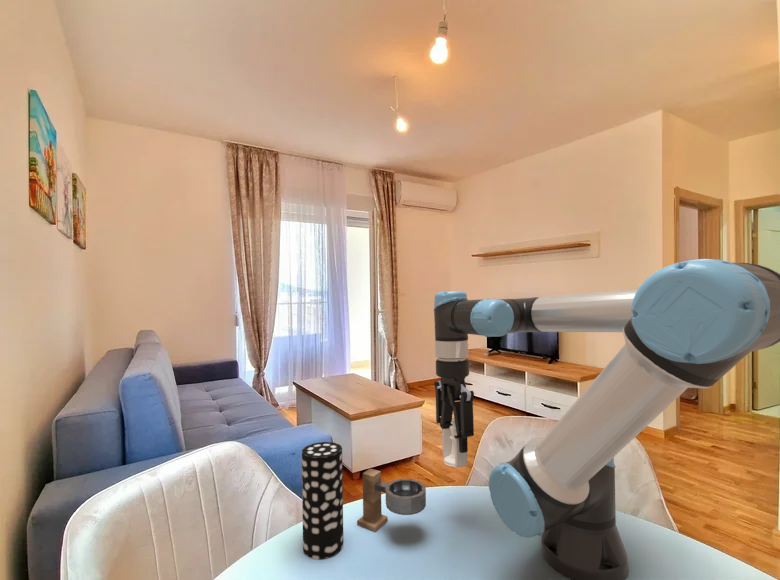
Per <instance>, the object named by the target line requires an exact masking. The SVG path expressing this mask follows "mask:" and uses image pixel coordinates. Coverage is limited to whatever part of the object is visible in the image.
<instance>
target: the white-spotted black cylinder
mask: <svg viewBox="0 0 780 580" xmlns="http://www.w3.org/2000/svg"><path fill="white" fill-rule="evenodd" d="M301 481H302V482H301V483H302V484H301V485H302V486H301V491H302V492H301V493H302V494H301V495H302V496H301V498H302V500H301V501H302V505H301V506H302V551H303V553H304V554H305V556H306V557H307V558H310V559H313V560H325V559H329V558H332V557H335V556H336V555H338V554H339V553H340V552H341V551H342V549H344V506H343V505H344V491H343V490H344V489H343V485H344V484H343V447H342V445H341V444H339V443H337V442H330V441H323V442H322V441H319V442H315V443H311V444H308V445H306V446H305V447H303V448H302V450H301Z"/></svg>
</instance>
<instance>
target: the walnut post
mask: <svg viewBox="0 0 780 580" xmlns="http://www.w3.org/2000/svg"><path fill="white" fill-rule="evenodd" d="M378 481H382V472H381V471H380V470H377V469H374V468H369V469H367V470H365V471H364V472H362V516H361V517H359V519H357V520H356V526H357V527H361V528H363V529H366V530H369V531H371V532H374V533H376V532H377V531H378V530H379V529H380V528H382V527H383V526H384V525H385V524H386V523H387V522H388V516H387V515H385V514H382V492H381V491H378V490H375V484H376V483H377V482H378Z"/></svg>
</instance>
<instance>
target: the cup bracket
mask: <svg viewBox="0 0 780 580" xmlns="http://www.w3.org/2000/svg"><path fill="white" fill-rule="evenodd" d="M426 489H427V488H426V484H424V483H423V482H421V480H416V479H413V478H399V479H394V480H391V481H390V482H385V481H382V480H381V481H378V482H377V483H376V484H375V490H378V491H381V493H385V506H386V508H387V510H388V511H390V512H391V513H393V514H397V515H401V516H411V515H412V516H413V515H417V514H419V513H421V512H423V511H424V510H425V508H426V505H427V494H426V492H427V491H426Z"/></svg>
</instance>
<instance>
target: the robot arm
mask: <svg viewBox="0 0 780 580" xmlns="http://www.w3.org/2000/svg"><path fill="white" fill-rule="evenodd" d="M467 296H468V295H467V293H466V292H465V291H439V292H437V293H435V295H434V301H433V302H434V304H433V313H434V314H433V315H434V316H433V318H434V346H435V347H434V348H435V350H434V351H435V358H437V359H436V360H435V374H436V376H437V377H439V378H440V380H438V381H434V382H433V384H434V390H435V391H434V392H435V420H436V423H437V424H439V426H440V428H441V440H442V441H441V443H442V444H441V445H442V458H443V459H444V458H445V457H446V456H449V455H450V454H451V449H452V439H450V436H452V433H451V430H450V426H452V425H453V424H451V422H452V421H453V419H452V418H454V419H455V426H456V433H457V435H455V436H454V437H455V466H456V467H455V468H458V469H459V468H463V467H467V466H469V465H468V463H469V461H468V450H469V449H468V447H469V446H468V445H469V444H468V438H471V437H473V436H474V434H475V433H474V432H475V431H474V430H475V429H474V397H475V392H474V390H468V389H467V385H466V380H465V379H466V378H467V377H468V376H469V375H470V361H469V360H468V359H467V358H468V357H469V336H468V335H473V336H474V335H475V336H480V337H481V336H482V337H486V338H491V337H495V338H496V337H503V336H506V335H507V334H513V333H514V334H515V333H543V332H544V333H546V332H547V333H623V334H622V335H623V338H624V341H625V344H623V346H622V348H620V349H619V351H618V352H617V353H616V354H615V356H613V358H612V359H611V360H610V361H609V362H608V363H607V365H605V367H604V368H603V369H602V370H601V372H600V373H599V374H598V375H597V377H595V378H594V380H593V381H592V382H591V383H590V384H589V386H588V387H587V388H586V389H584V391H583V392H582V393H581V395H579V397H578V398H577V399H576V401H574V403H572V405H571V406H570V407H569V409H568V410H567V411H566V412H565V413H564V414H563V416H562V417H560V419H559V420H558V422H556V423H555V424H554V426H553V427H552V428H551V429H550V431H549V432H548V433H547V434H546V435H545V436H544V437H535V438H532V439H530V440H529V441H527V442H526V444H525V445H524V446H522V448H521V449H520V450H519V452H518V453H517V454H516V455H515V456H514V457H513V458H512V459H511V460H509V461H507V462H505V461H504V462H500V463H499V464H498V465H496V466H494V467H493V468H492V469H491V471H490V473H489V475H488V489H489V493H490V494H489V495H490V496H489V497H490V499H491V502H492V505H493V507H494V509H495V511H496V513H497V515H498V516H499V518H500V520H501V521H502V522H503V523H504V525H505V526H506V527H507V528H508V529H509V530H510V531H511V532H513V533H515V534H516V535H518V536H520V537H521V538H527V539H528V538H533V537H536V536H540V539H541V540H540V545H541V546H540V547H541V548H540V549H541V553H542V556H543V558H544V559H545V561H546V562H547V563H548V564H549V565H550V566H551V567H552V568H553V569H555V570H556V571H557V572H559V573H560V574H561V575H564V576H566V577H568V578H570V579H573V580H624V579H626V577H627V576H628V572H629V569H628V567H629V565H628V564H629V562H628V560H629V559H628V554H627V552H626V549H625V546H624V544H623V541H622V538H621V536H620V535H621V534H620V532H619V529H618V527H617V522H616V517H617V515H616V477H615V476H616V474H615V473H616V472H615V471H616V465H615V458H614V457H616V456H617V455H618V454H619V453H620V452H621V451H622V450H623V449H624V448H625V447H626V446H628V444H630V443H631V441H633V440H634V439H635V438H636V437H637V436H638V435H639V434H640V433H641V432H643V430H645V429H646V427H648V426H649V425H650V424H651V423H652V422H653V421H654V420H655V419H657V417H659V415H661V413H663V412H664V411H665V410H666V409H667V408H668V407H669V406H670V405H671V404H672V403H674V401H676V399H678V398H680V396H681V395H682V394H683V393H684V392H686V390H687V389H689V388H690V389H705V390H706V389H710V388H711V387H713V386H714V385H715V384H716V383H717V382H718V381H719V380H721V379H722V378H723V377H724V376H725V375H727V373H729V371H731V370H732V369H733V368H734V367H736V365H738V364H739V363H740V362H741V361H742V360H743V359H744V358H745V357H746V356H748V355H749V354H750V353H752V352H756V351H759V350H764V349H767V348H769V347H773V346H775V345H777V344H778V343H780V273H779V272H778V271H776V270H774V269H771V268H770V267H767V266H764V265H762V264H761V265H760V264H755V263H749V262H748V263H747V262H731V261H727V260H723V259H722V260H721V259H714V258H697V259H689V260H685V261H680V262H676V263H672V264H670V265H667V266H664V267H662V268H660V269H658V270H657V271H655V272H653V273H652V274H651V275H649V277H647V278H646V279H645V280H644V281H643V282H642V283H641V284H640V286H639V287H638V288H629V289H628V288H624V289H615V290H607V291H606V290H605V291H594V292H584V293H582V292H581V293H571V294H560V295H548V296H546V295H545V296H537V297H524V298H523V297H522V298H483V299H468V298H467Z"/></svg>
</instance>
